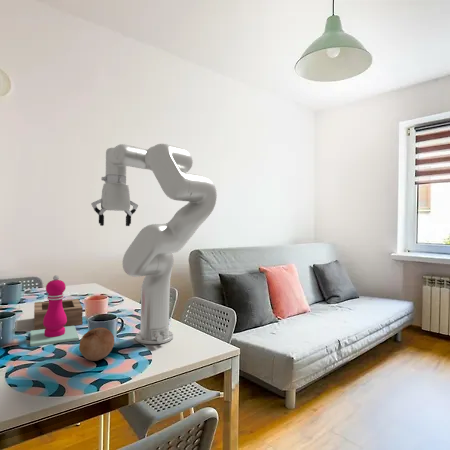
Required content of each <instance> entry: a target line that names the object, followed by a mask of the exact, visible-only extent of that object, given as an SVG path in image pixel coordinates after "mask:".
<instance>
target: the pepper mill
mask: <svg viewBox="0 0 450 450" xmlns="http://www.w3.org/2000/svg"><path fill="white" fill-rule="evenodd" d="M52 279H53V280H50V281H48V282H47V284H46V285H45V291H46V293H47V295H46V296H47V298H46V299H47V300H48V301H49V306H48V310H47V312H46V314H45V316H44V319H43V325H44V326H45V327H46V328H47V329H45V334H44V335H45V336H46V337H57V336H61V335H63V334H65V327H66V326H65V327H63V326H64V325H65V324H66V322H67V317H66V314H65V312H64V309H63V306H62V300H64V295H65V294H64V292H65V290H66V283H65V282H64V281H63V280H60V277H59V275H54V276H53V277H52Z"/></svg>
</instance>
